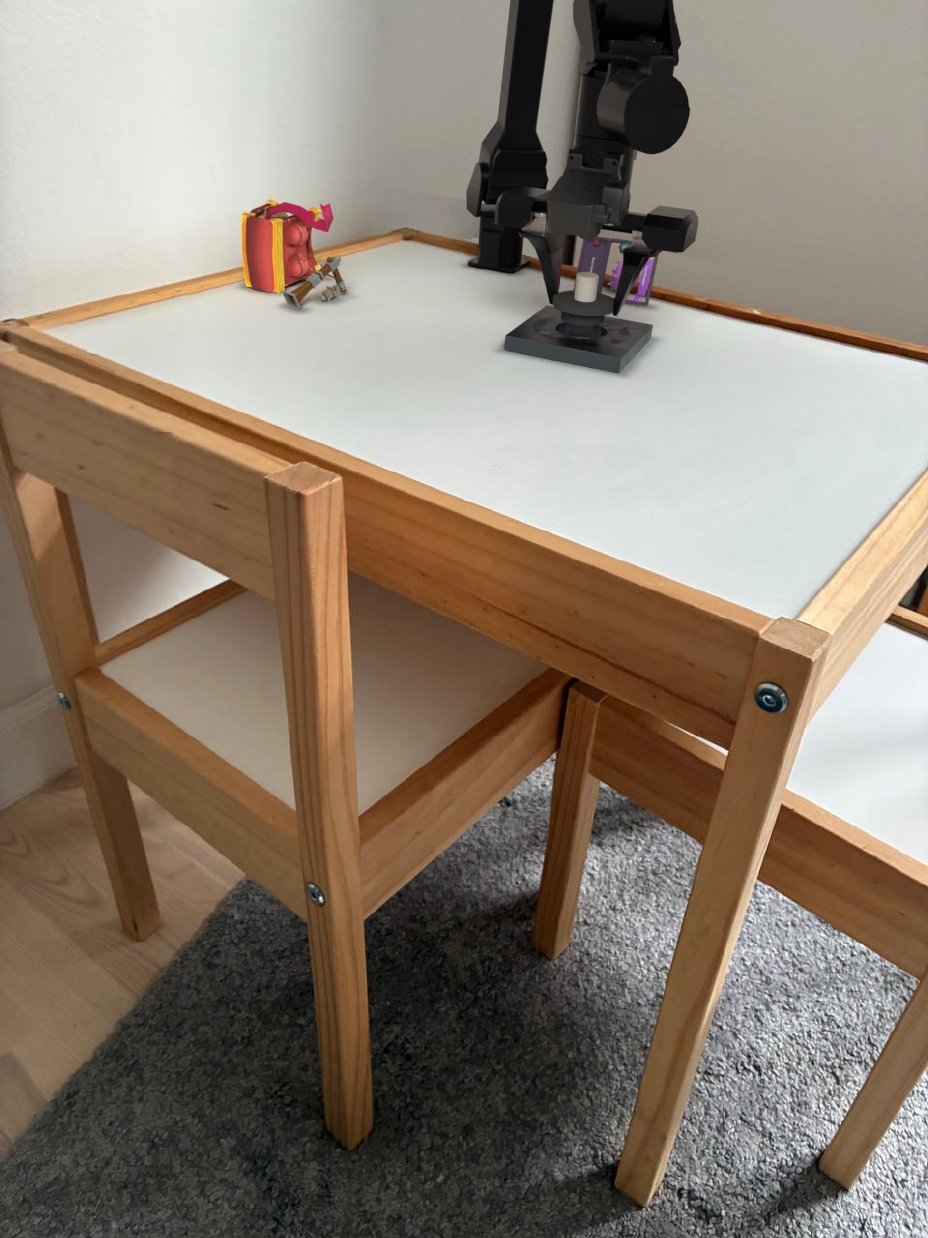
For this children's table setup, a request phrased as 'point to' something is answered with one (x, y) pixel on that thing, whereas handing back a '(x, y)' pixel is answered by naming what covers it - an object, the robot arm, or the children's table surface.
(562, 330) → the sink plate
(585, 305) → the stopper
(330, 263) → the toy blunderbuss
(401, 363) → the children's table surface
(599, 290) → the game card
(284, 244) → the book monster
